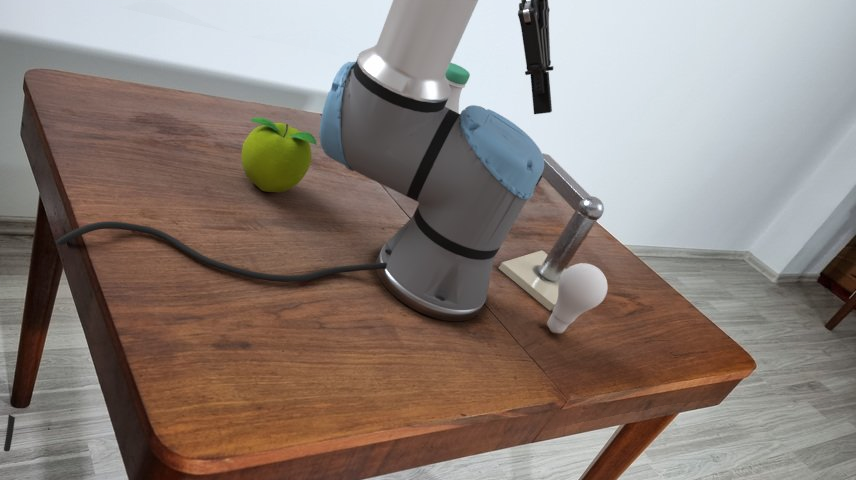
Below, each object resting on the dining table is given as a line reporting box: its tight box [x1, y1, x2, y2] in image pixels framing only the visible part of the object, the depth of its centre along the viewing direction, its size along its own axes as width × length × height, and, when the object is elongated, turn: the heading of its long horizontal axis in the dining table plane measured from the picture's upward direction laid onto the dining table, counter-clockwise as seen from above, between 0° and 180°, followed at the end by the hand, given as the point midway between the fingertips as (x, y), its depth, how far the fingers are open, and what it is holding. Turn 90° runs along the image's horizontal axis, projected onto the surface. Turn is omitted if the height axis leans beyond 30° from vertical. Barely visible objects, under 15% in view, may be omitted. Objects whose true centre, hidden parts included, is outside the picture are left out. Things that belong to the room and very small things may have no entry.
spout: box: [535, 152, 605, 281], centre depth 107 cm, size 16×4×14 cm, turn 20°
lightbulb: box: [546, 262, 608, 334], centre depth 94 cm, size 6×6×11 cm
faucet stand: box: [498, 249, 567, 311], centre depth 107 cm, size 12×10×1 cm
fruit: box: [240, 116, 317, 193], centre depth 97 cm, size 9×9×10 cm
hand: (542, 112), depth 119 cm, fingers closed
